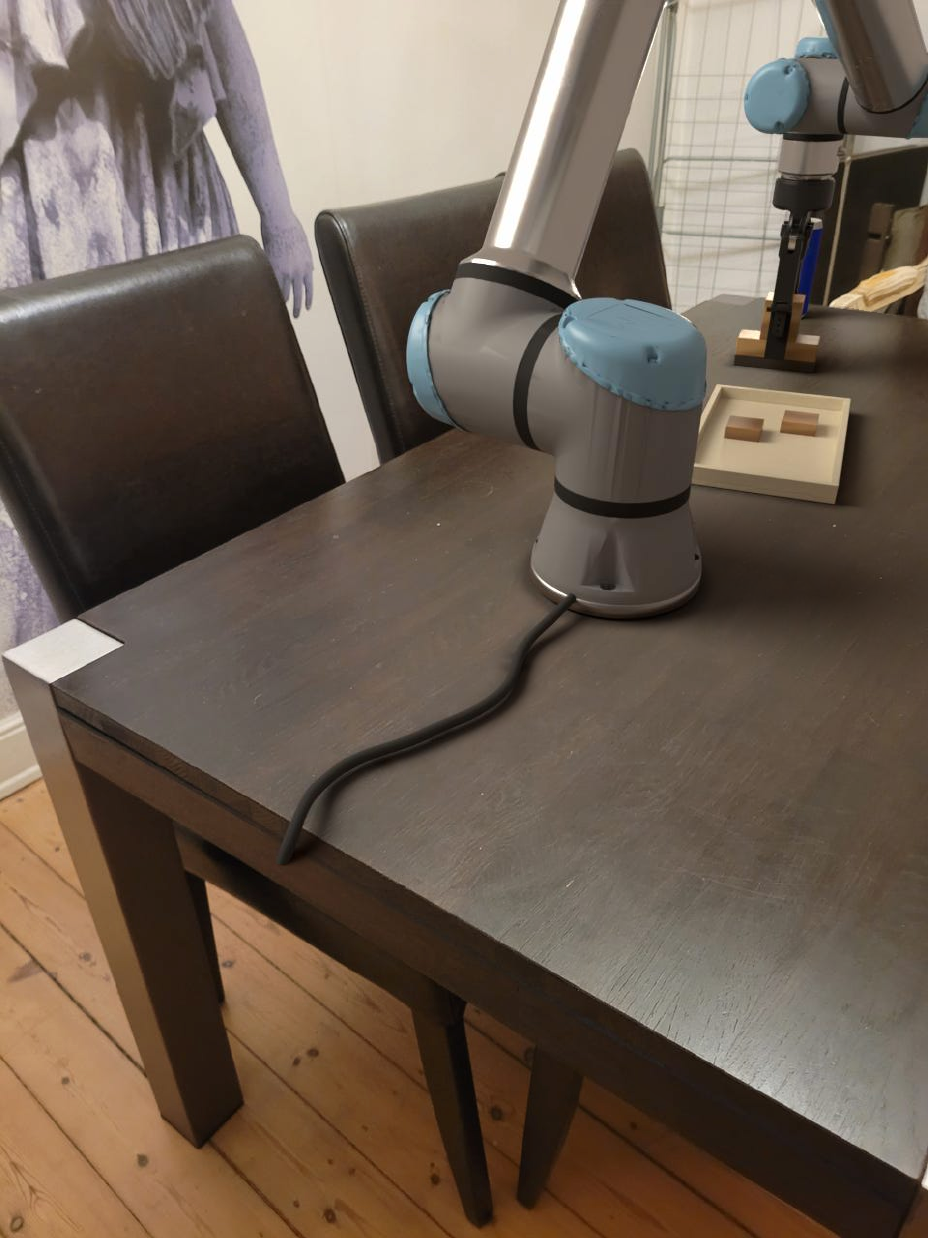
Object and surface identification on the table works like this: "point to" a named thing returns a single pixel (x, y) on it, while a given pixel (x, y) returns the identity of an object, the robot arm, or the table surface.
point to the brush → (797, 348)
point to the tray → (772, 445)
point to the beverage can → (810, 263)
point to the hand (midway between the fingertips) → (776, 351)
